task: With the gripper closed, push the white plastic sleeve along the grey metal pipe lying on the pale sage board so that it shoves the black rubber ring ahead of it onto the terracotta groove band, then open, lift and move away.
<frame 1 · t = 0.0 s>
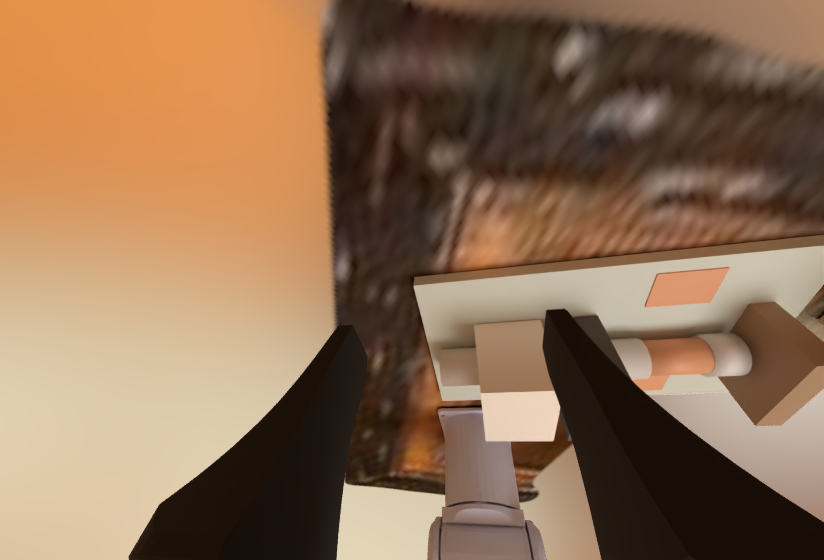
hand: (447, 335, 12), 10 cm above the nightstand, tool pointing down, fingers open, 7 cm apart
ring: (582, 378, 23), point 4 cm above the nightstand, slide at 0.0 cm
pipe board: (585, 335, 26), on the nightstand
sleeve: (512, 381, 24), point 4 cm above the nightstand, slide at 0.0 cm
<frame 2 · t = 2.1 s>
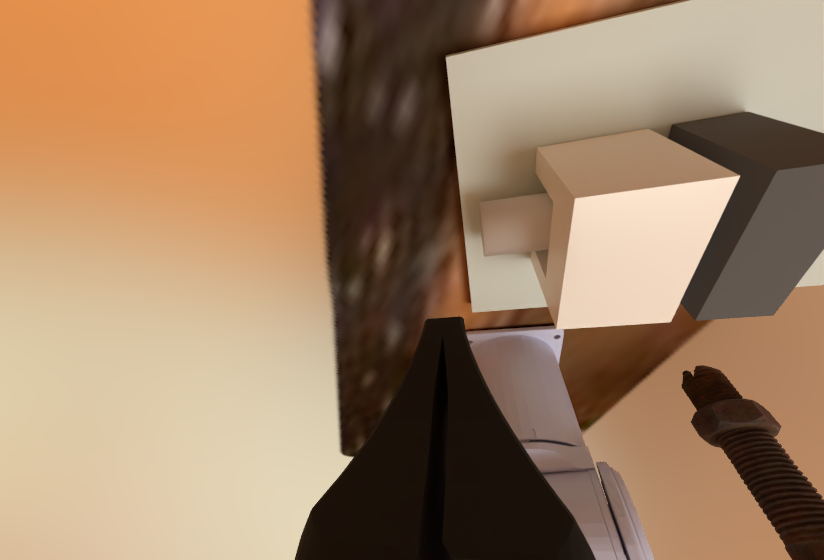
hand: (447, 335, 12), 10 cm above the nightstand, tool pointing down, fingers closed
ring: (721, 217, 14), point 4 cm above the nightstand, slide at 0.0 cm
pipe board: (702, 177, 17), on the nightstand
bolt: (695, 371, 28), on the nightstand
sleeve: (601, 231, 15), point 4 cm above the nightstand, slide at 0.0 cm
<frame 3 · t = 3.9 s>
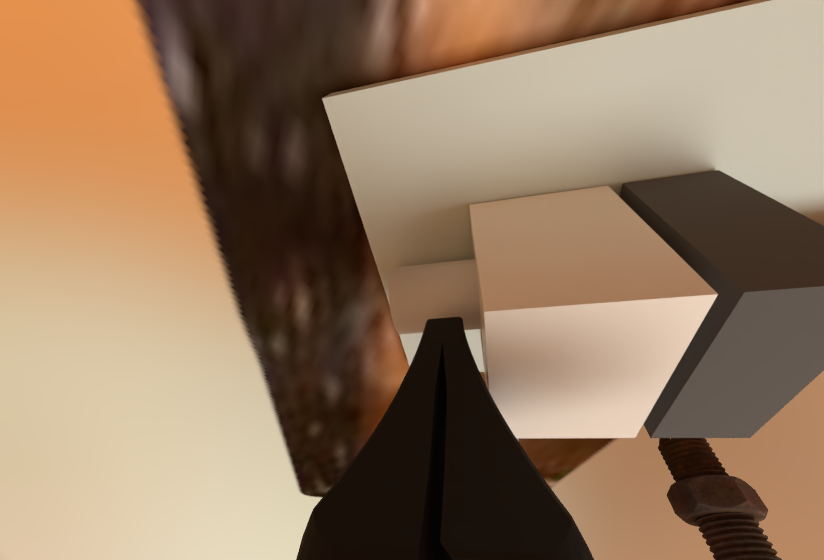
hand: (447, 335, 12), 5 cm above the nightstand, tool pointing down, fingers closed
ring: (684, 306, 11), point 4 cm above the nightstand, slide at 0.0 cm
pipe board: (668, 239, 14), on the nightstand
bolt: (674, 431, 24), on the nightstand
sleeve: (548, 315, 12), point 4 cm above the nightstand, slide at 0.5 cm, touching gripper
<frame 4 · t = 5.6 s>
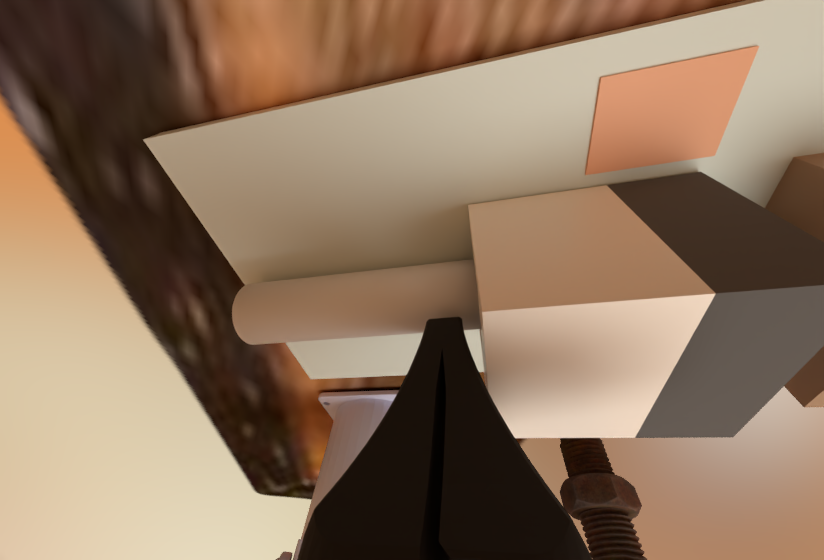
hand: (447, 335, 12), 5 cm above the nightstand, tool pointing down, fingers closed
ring: (667, 306, 11), point 4 cm above the nightstand, slide at 6.8 cm, touching sleeve
pipe board: (498, 256, 15), on the nightstand
bolt: (576, 431, 26), on the nightstand
sleeve: (547, 315, 12), point 4 cm above the nightstand, slide at 7.8 cm, touching gripper, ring
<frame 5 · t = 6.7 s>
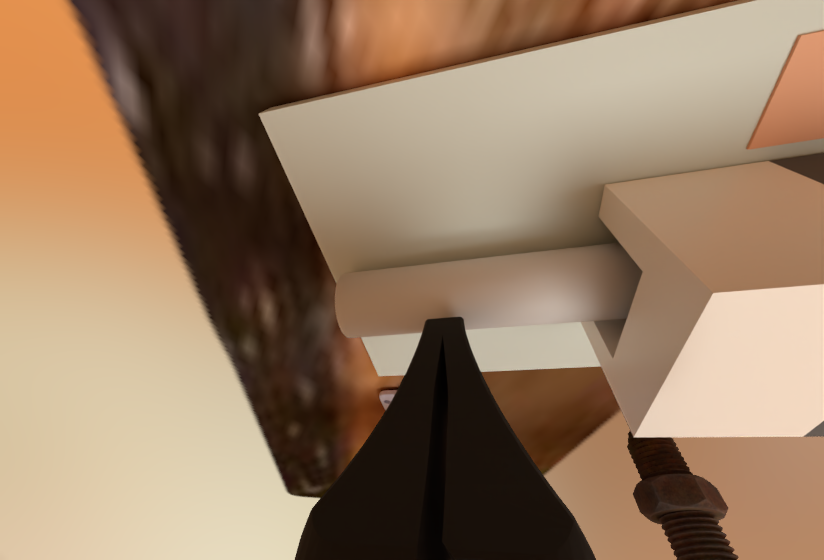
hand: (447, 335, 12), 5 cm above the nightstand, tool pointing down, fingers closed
pipe board: (610, 244, 14), on the nightstand
bolt: (643, 431, 25), on the nightstand
sleeve: (698, 303, 11), point 4 cm above the nightstand, slide at 7.8 cm, touching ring
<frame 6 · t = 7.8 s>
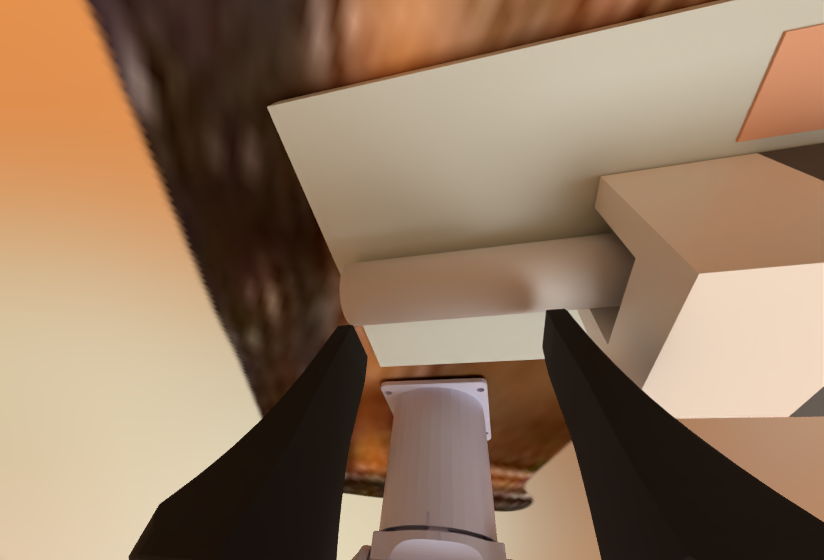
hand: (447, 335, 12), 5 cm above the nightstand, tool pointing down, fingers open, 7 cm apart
pipe board: (606, 235, 14), on the nightstand
sleeve: (689, 290, 11), point 4 cm above the nightstand, slide at 7.8 cm, touching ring
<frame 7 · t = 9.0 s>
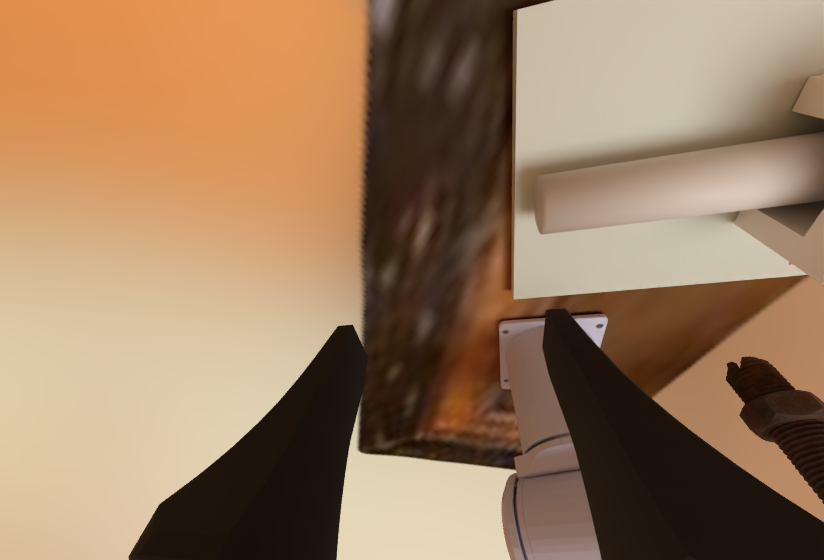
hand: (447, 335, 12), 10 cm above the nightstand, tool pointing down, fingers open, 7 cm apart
pipe board: (777, 149, 16), on the nightstand
bolt: (740, 363, 26), on the nightstand
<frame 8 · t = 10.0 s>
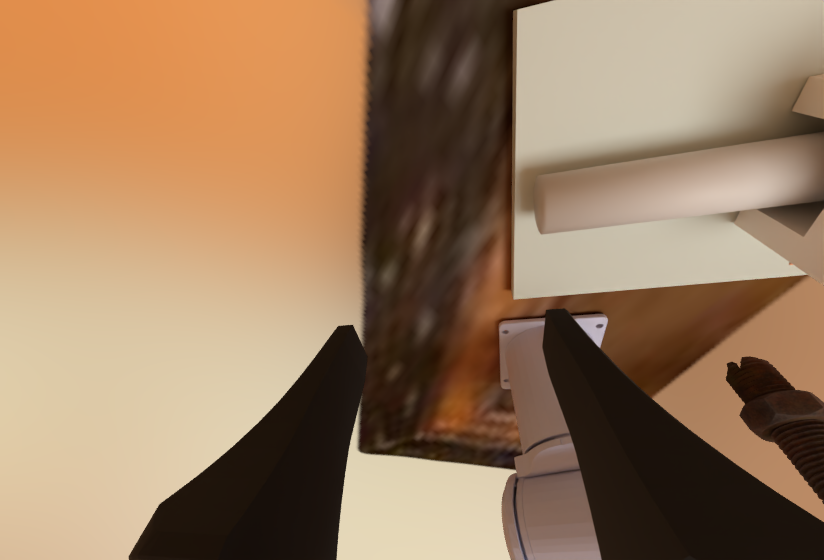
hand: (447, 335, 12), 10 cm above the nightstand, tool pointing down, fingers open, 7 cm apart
pipe board: (777, 149, 16), on the nightstand
bolt: (740, 363, 26), on the nightstand
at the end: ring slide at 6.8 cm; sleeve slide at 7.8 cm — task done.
